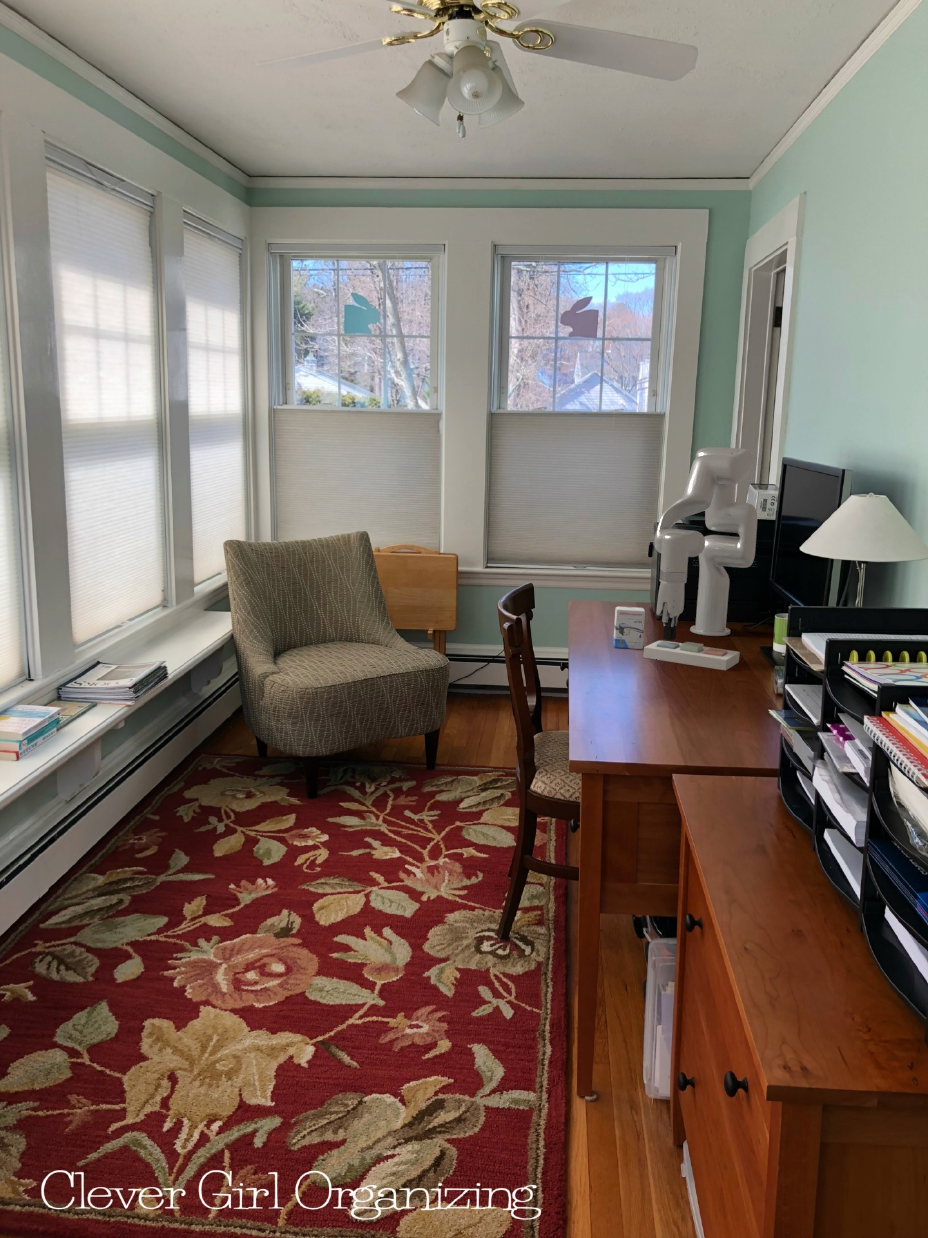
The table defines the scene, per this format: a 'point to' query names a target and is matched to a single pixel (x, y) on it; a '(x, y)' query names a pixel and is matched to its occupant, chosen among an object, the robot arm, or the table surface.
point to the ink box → (629, 627)
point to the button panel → (691, 656)
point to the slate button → (668, 645)
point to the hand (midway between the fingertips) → (669, 639)
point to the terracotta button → (715, 652)
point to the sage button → (691, 647)
